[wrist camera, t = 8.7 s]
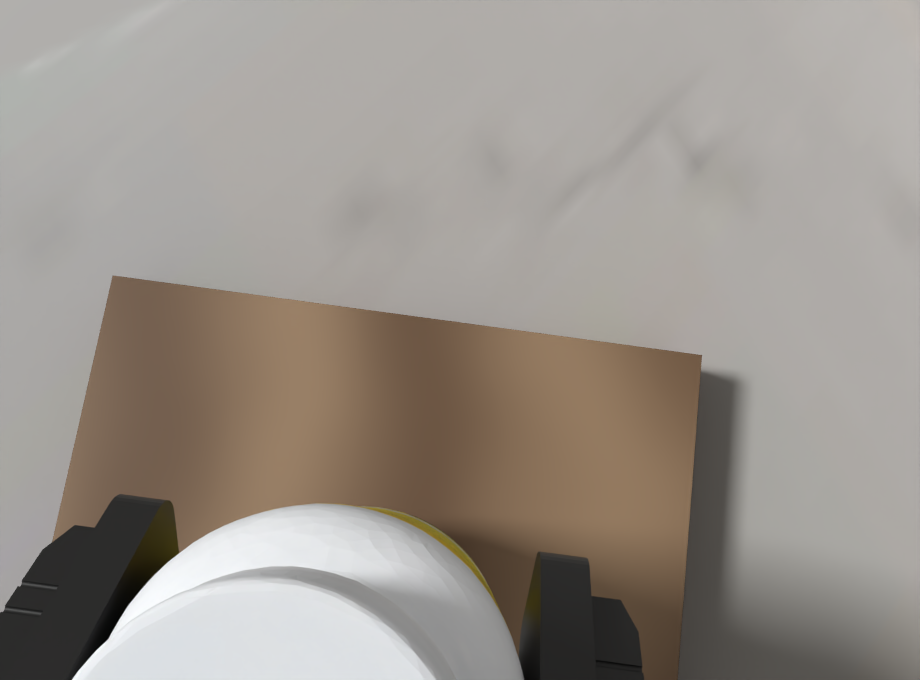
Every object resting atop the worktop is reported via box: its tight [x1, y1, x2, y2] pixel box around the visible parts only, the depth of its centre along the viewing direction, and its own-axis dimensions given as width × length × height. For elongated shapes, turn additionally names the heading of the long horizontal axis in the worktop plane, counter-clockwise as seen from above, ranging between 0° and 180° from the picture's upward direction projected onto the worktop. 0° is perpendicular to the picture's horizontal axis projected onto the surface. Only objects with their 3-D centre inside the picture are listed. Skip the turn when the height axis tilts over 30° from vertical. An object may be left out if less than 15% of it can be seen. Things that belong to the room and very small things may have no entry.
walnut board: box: [52, 276, 702, 680], centre depth 19 cm, size 14×14×2 cm
